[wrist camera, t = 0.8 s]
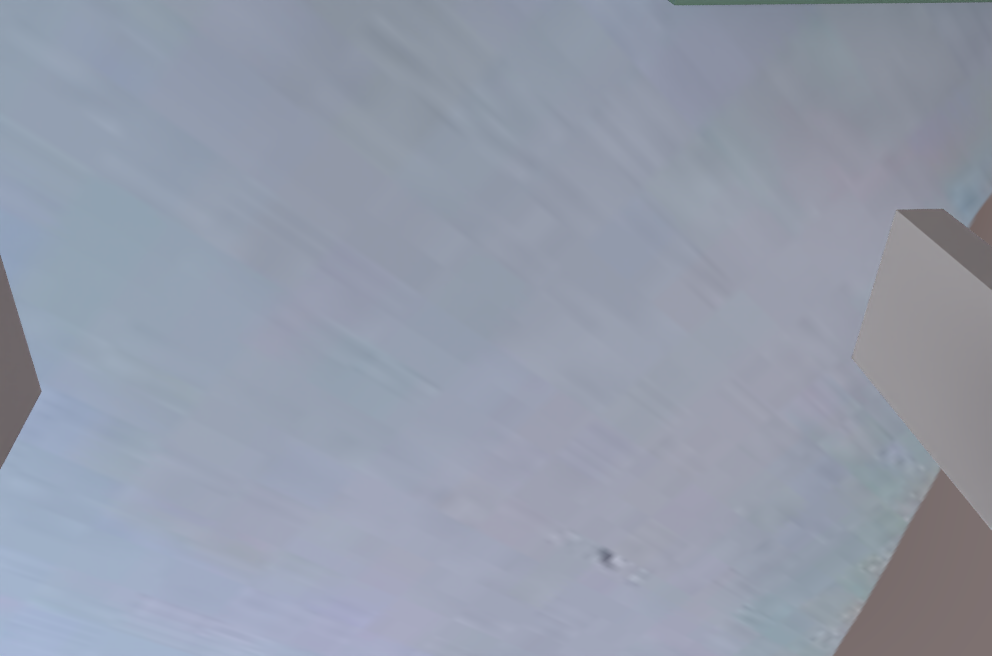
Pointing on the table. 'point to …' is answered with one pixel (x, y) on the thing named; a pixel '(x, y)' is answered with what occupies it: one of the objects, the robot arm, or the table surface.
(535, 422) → the table surface
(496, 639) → the table surface
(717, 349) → the table surface
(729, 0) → the header board
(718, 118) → the table surface
